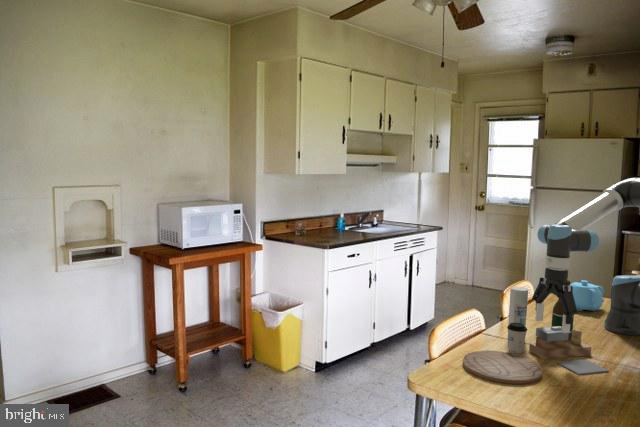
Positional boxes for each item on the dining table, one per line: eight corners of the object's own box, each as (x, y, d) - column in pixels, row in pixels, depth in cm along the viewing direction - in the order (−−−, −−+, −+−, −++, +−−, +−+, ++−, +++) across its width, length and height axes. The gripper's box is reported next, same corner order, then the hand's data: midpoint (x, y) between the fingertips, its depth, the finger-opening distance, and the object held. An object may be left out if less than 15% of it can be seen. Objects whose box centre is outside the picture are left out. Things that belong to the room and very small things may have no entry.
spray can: (517, 335, 206) (520, 286, 204) (528, 340, 199) (532, 290, 197) (503, 336, 204) (506, 287, 202) (514, 341, 197) (518, 291, 195)
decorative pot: (572, 302, 259) (574, 275, 257) (606, 309, 247) (609, 281, 245) (558, 307, 248) (559, 279, 247) (593, 315, 236) (595, 286, 235)
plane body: (574, 347, 193) (576, 326, 192) (590, 354, 186) (592, 333, 185) (529, 351, 188) (530, 329, 187) (544, 359, 180) (545, 337, 179)
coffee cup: (525, 349, 190) (527, 323, 189) (526, 355, 183) (528, 328, 182) (505, 346, 192) (507, 320, 191) (505, 353, 185) (507, 326, 184)
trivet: (513, 353, 186) (513, 348, 186) (559, 383, 162) (559, 377, 161) (449, 357, 181) (450, 352, 180) (487, 388, 156) (487, 382, 156)
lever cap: (556, 334, 189) (557, 324, 189) (568, 339, 183) (568, 329, 183) (535, 335, 187) (536, 325, 186) (546, 341, 181) (547, 331, 181)
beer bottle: (574, 345, 195) (579, 283, 193) (552, 343, 197) (557, 282, 195) (569, 338, 203) (573, 279, 201) (548, 336, 205) (552, 277, 202)
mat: (585, 360, 180) (585, 359, 180) (608, 371, 171) (608, 370, 171) (556, 363, 177) (557, 361, 177) (578, 375, 167) (578, 373, 167)
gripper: (525, 261, 193) (520, 316, 196) (574, 276, 170) (568, 338, 172) (541, 261, 195) (537, 315, 198) (592, 275, 172) (586, 337, 174)
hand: (551, 326), depth 185 cm, fingers open, 13 cm apart
